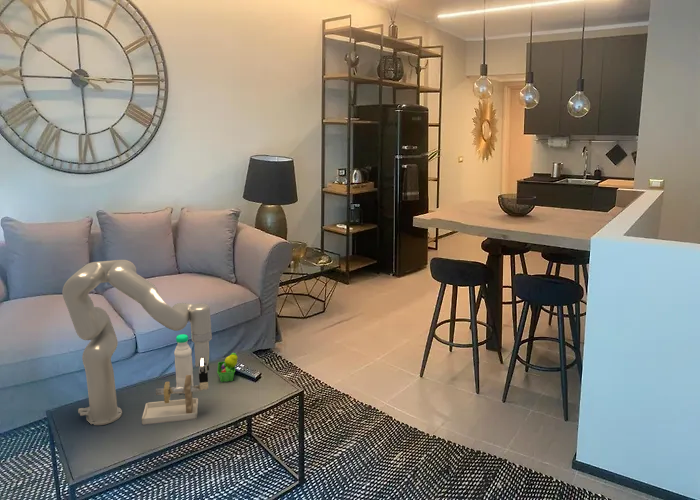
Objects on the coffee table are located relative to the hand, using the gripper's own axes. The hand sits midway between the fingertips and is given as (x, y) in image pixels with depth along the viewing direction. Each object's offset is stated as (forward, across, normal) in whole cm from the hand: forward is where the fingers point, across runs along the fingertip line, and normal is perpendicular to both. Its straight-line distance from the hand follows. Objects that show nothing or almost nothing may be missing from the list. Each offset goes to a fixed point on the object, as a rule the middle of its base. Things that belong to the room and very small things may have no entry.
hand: (204, 376), depth 210 cm
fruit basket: (+15, -28, +8) cm, 33 cm away
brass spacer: (+8, 0, -14) cm, 17 cm away
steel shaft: (+6, 0, -9) cm, 11 cm away
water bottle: (+15, -18, -10) cm, 26 cm away
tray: (+15, 0, -14) cm, 20 cm away
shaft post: (+15, 0, -6) cm, 16 cm away
